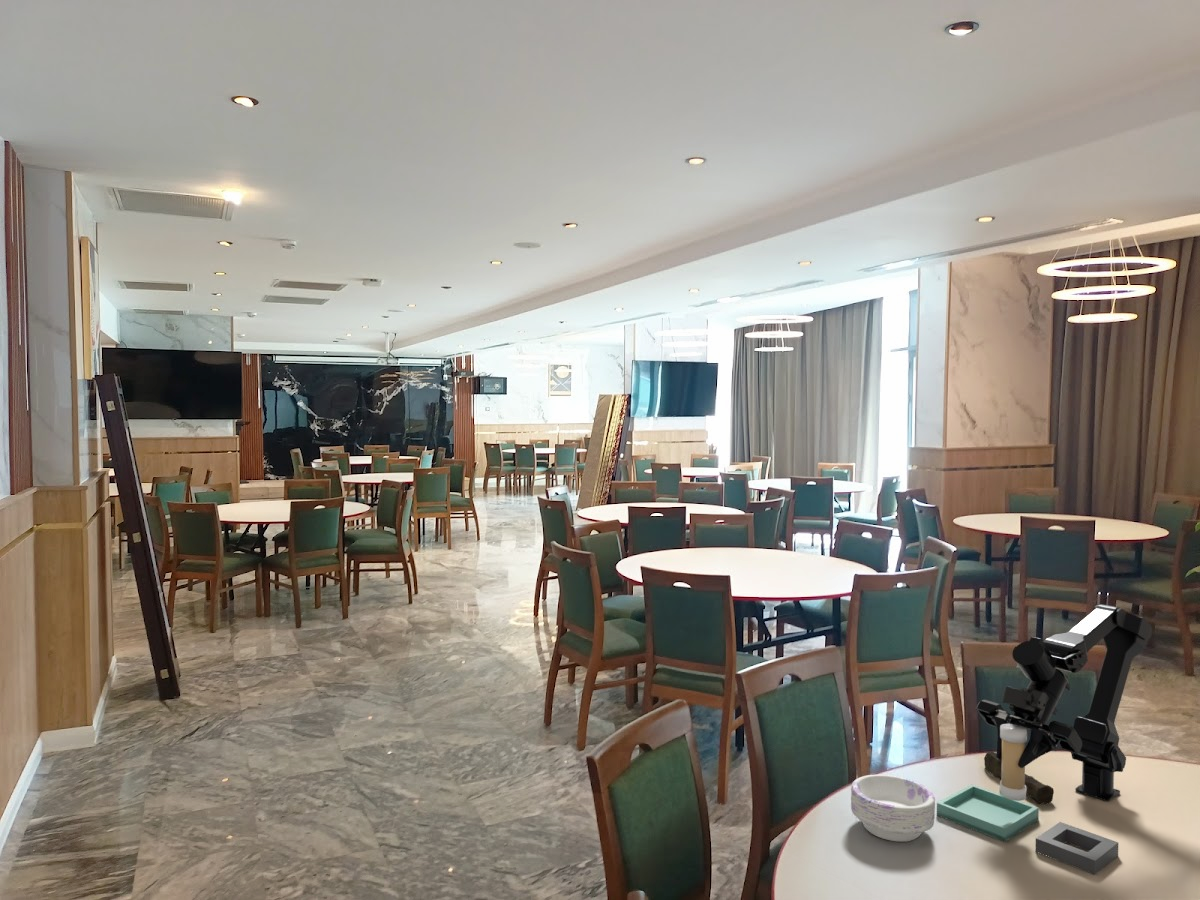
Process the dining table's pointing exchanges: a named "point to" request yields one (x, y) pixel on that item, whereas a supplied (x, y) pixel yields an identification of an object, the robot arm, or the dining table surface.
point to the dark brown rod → (1033, 786)
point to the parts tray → (987, 812)
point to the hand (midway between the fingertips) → (1008, 762)
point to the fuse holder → (1091, 861)
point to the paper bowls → (892, 806)
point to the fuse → (1012, 762)
